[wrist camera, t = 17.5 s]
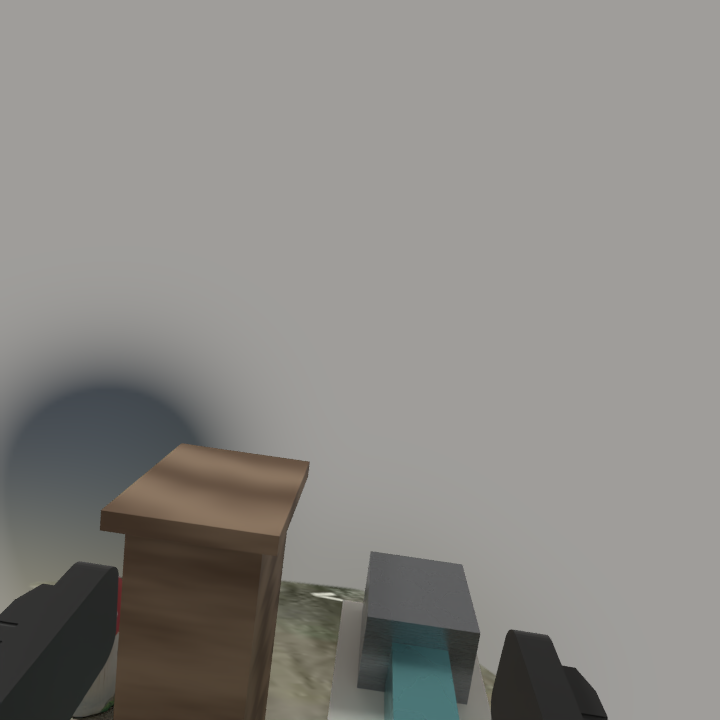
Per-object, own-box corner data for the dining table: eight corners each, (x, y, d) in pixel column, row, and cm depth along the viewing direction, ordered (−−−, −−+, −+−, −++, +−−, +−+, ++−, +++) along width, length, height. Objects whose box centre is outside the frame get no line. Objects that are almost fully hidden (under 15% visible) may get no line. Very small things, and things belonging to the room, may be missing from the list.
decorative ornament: (111, 730, 53) (120, 590, 50) (37, 733, 52) (43, 588, 49) (133, 661, 62) (142, 539, 59) (71, 662, 61) (77, 537, 58)
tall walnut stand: (140, 771, 49) (166, 432, 44) (293, 795, 49) (337, 456, 44) (24, 1007, 33) (43, 521, 28) (249, 1045, 33) (310, 560, 28)
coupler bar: (362, 610, 42) (370, 551, 41) (451, 623, 42) (462, 564, 41) (341, 905, 23) (357, 802, 22) (510, 932, 22) (531, 830, 22)
